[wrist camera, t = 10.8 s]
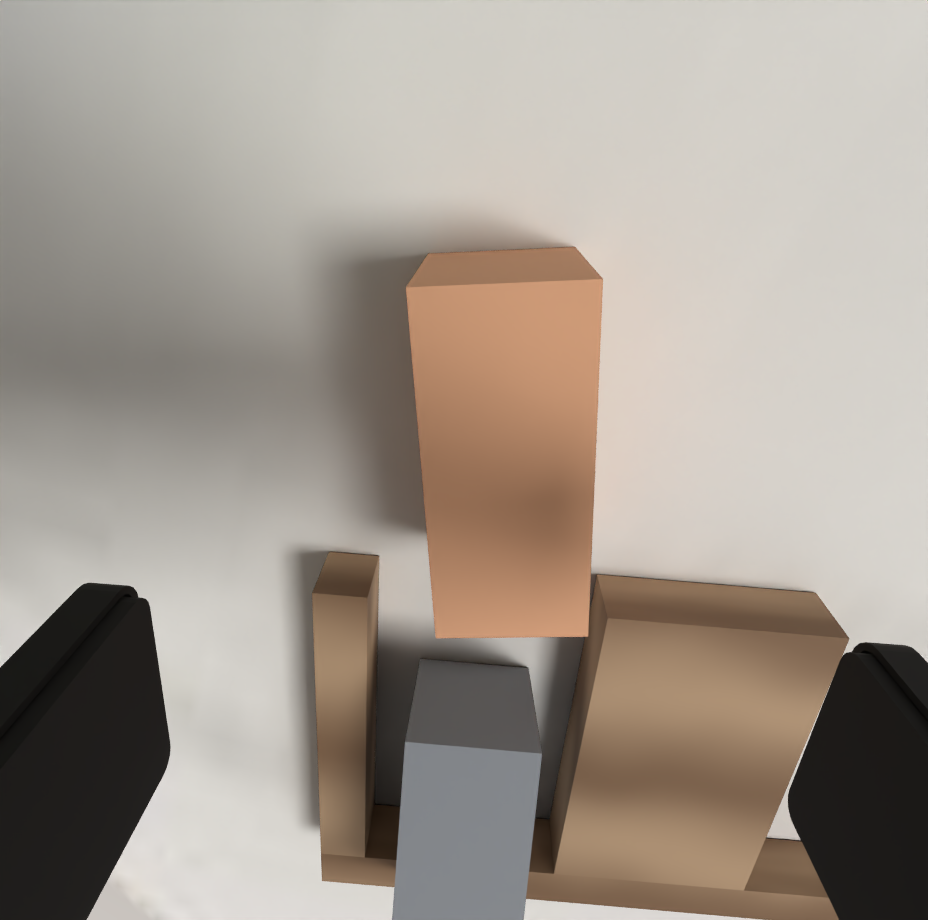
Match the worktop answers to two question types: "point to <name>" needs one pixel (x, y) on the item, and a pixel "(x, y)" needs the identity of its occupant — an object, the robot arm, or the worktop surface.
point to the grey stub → (467, 794)
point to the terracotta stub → (507, 437)
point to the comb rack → (619, 746)
